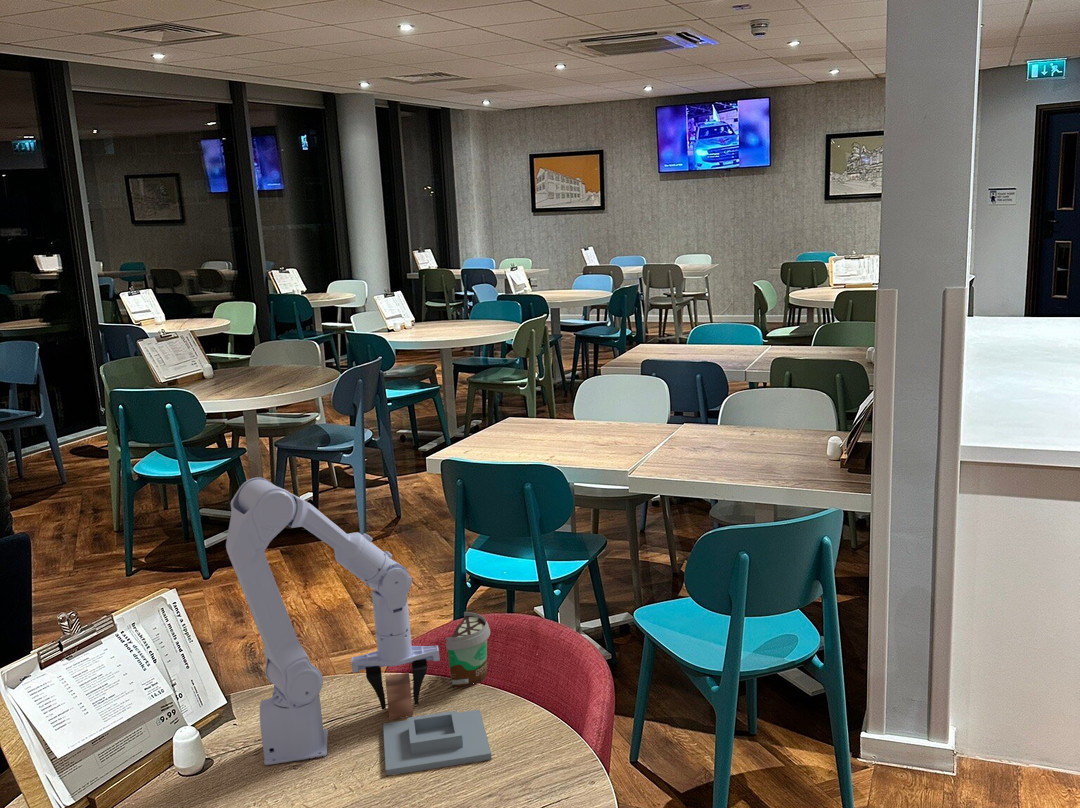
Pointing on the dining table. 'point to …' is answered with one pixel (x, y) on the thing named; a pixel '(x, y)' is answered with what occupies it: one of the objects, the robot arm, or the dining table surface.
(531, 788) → the dining table surface
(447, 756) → the base board
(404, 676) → the terracotta block
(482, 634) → the food container
